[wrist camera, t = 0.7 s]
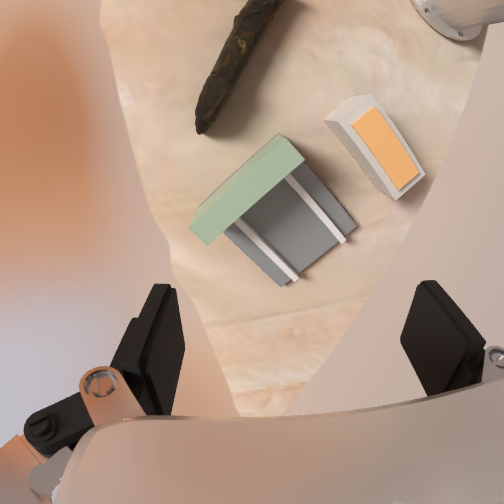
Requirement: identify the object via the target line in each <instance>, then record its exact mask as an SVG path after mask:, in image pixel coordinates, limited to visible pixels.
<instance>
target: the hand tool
mask: <svg viewBox="0 0 504 504" xmlns="http://www.w3.org/2000/svg"><path fill="white" fill-rule="evenodd" d="M282 1H283V0H248V2H247V3H246V5H245V6H244V7H243V9H242V10H241V11H240V13H239V15H237V16H235V18H234V25H233V29H232V31H231V33H230V35H229V37H228V39H227V41H226V42H225V45H224V47H223V49H222V51H221V53H220V56H219V58H218V60H217V62H216V64H215V66H214V68H213V70H212V72H211V74H210V76H209V77H208V78H207V80H206V83H205V84H204V86H203V89H202V92H201V94H200V96H199V100H198V103H197V107H196V110H195V115H196V120H195V125H196V132H197V134H199V135H200V134H202V133H205V132H206V131H207V130H208V128H209V127H210V125H211V123H212V122H214V121H215V120H216V118H217V116H218V115H219V112H220V111H221V109H222V107H223V106H224V105H225V103H226V102H227V100H228V99H229V97H230V95H231V92H232V90H233V88H234V86H235V84H236V82H237V80H238V78H239V76H240V75H241V73H242V71H243V69H244V67H245V65H246V64H247V62H248V60H249V58H250V56H251V55H252V53H253V51H254V49H255V47H256V45H257V43H258V41H259V40H260V38H261V37H262V36H263V33H264V32H265V31H266V29H267V27H268V26H269V23H270V21H271V20H272V18H273V15H274V13H275V12H276V10H277V9H278V7H279V5H280V4H281V2H282Z"/></svg>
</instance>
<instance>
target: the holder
mask: <svg viewBox="0 0 504 504" xmlns="http://www.w3.org/2000/svg"><path fill="white" fill-rule="evenodd" d="M323 121H324V122H325V123H326V124H327V125H328V127H329V128H330V129H331V130H332V131H333V133H334V134H335V135H336V136H337V138H338V139H339V140H340V141H341V143H342V144H343V145H344V146H345V148H346V149H347V150H348V151H349V153H350V154H351V155H352V157H353V158H354V159H355V160H356V162H357V163H358V164H359V166H360V167H361V168H362V170H363V171H364V173H365V174H366V175H367V177H368V178H369V179H370V181H371V182H372V184H373V185H374V186H375V187H376V188H378V189H379V190H381V191H382V192H384V193H385V194H387V195H388V196H390V197H391V198H392V199H394V200H395V201H396V200H397V199H398V198H399V197H401V196H402V195H403V194H404V193H405V192H406V191H407V190H409V189H410V188H411V187H412V186H413V185H414V184H415V183H416V182H418V181H419V180H420V179H421V178H422V177H423V176H424V175H425V173H424V171H423V169H422V167H421V166H420V164H419V162H418V161H417V159H416V157H415V156H414V154H413V152H412V151H411V149H410V148H409V146H408V145H407V143H406V141H405V140H404V138H403V137H402V135H401V134H400V132H399V131H398V129H397V128H396V126H395V125H394V123H393V122H392V121H391V119H390V118H389V116H388V115H387V114H386V112H385V111H384V109H383V108H382V107H381V105H380V104H379V103H378V101H377V100H376V99H375V97H374V96H373V95H372V94H365V95H356V96H351V97H350V98H349V99H348V100H346V101H345V102H344V103H343V104H341V105H340V106H339V107H338V108H336V109H335V110H334V111H333V112H332V113H330V114H329V115H328V116H327V117H325V118H324V119H323Z"/></svg>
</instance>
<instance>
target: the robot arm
mask: <svg viewBox="0 0 504 504" xmlns="http://www.w3.org/2000/svg"><path fill="white" fill-rule="evenodd" d="M411 1H412V3H413V5H414V6H415V8H416V10H417V11H418V12H419V13H420V15H421V16H422V17H423V18H424V19H425V21H426V22H427V23H428V24H429V25H430V26H432V27H433V28H434V29H435V30H436V31H438V32H439V33H441V34H442V35H444V36H446V37H448V38H450V39H453V40H457V41H467V40H471V39H474V38H476V37H477V36H478V35H479V34H480V32H481V30H482V27H483V25H489V24H494V23H500V22H504V0H411ZM400 340H401V345H402V346H403V349H404V350H405V352H406V354H407V356H408V358H409V360H410V362H411V364H412V366H413V368H414V370H415V372H416V374H417V376H418V378H419V380H420V382H421V384H422V386H423V388H424V390H425V392H426V394H427V396H428V397H424V398H420V399H415V400H410V401H405V402H400V403H394V404H389V405H383V406H378V407H371V408H364V409H357V410H350V411H342V412H333V413H323V414H312V415H298V416H279V417H200V416H172V415H171V412H172V407H173V402H174V397H175V393H176V388H177V383H178V379H179V374H180V370H181V365H182V360H183V356H184V352H185V342H184V336H183V331H182V324H181V318H180V313H179V306H178V299H177V293H176V289H175V288H171V286H170V284H154V286H153V287H152V289H151V292H150V294H149V296H148V298H147V300H146V302H145V304H144V306H143V308H142V310H141V313H140V315H139V317H138V318H132V320H131V321H130V323H129V325H128V327H127V330H126V332H125V334H124V336H123V338H122V340H121V342H120V344H119V346H118V349H117V351H116V353H115V355H114V357H113V360H112V362H111V364H110V366H109V367H108V366H100V367H96V368H93V369H91V370H89V371H87V372H86V373H85V374H84V375H83V377H82V378H81V380H80V384H79V389H80V392H78V393H76V394H74V395H72V396H70V397H67V398H65V399H63V400H61V401H59V402H57V403H55V404H53V405H51V406H48V407H46V408H44V409H42V410H40V411H37V412H35V413H34V414H32V415H31V416H30V417H29V418H28V419H27V421H26V423H25V425H24V434H23V435H22V436H20V437H19V436H18V435H16V436H15V437H13V438H12V439H11V440H10V441H9V442H7V443H6V444H5V445H4V446H3V447H2V448H0V504H53V503H52V498H51V496H52V491H53V490H54V488H55V487H56V486H57V485H58V484H59V483H60V485H59V488H58V491H57V495H56V498H55V501H54V504H504V348H502V347H499V346H490V347H488V348H487V350H486V351H485V350H484V349H483V347H484V345H485V344H486V341H485V340H484V338H483V337H482V336H481V334H480V333H479V332H478V330H477V329H476V328H475V327H474V325H473V324H472V323H471V322H470V320H469V319H468V318H467V317H466V316H465V314H464V313H463V312H462V311H461V309H460V308H459V307H458V306H457V305H456V303H455V302H454V301H453V300H452V299H451V297H450V296H449V295H448V294H447V293H446V292H445V291H444V290H443V288H442V287H441V286H440V285H439V284H438V283H437V281H435V280H427V281H422V282H421V283H420V284H419V285H418V286H417V288H416V291H415V295H414V298H413V301H412V304H411V307H410V311H409V313H408V316H407V319H406V323H405V325H404V328H403V331H402V334H401V337H400ZM61 477H62V479H61V481H60V480H59V479H60V478H61Z"/></svg>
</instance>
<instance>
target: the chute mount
mask: <svg viewBox="0 0 504 504" xmlns="http://www.w3.org/2000/svg"><path fill="white" fill-rule="evenodd" d="M304 160H305V159H304V158H303V157H302V156H301V154H300V153H299V152H298V151H297V150H296V149H295V148H294V147H293V145H292V144H291V143H290V142H289V141H288V140H287V139H286V138H285V137H283V136H282V135H280V134H277V135H276V136H275V137H274V138H273V139H271V140H270V141H269V142H268V143H267V144H266V145H265V146H263V147H262V148H261V149H260V150H259V151H258V152H257V153H256V154H254V155H253V156H252V157H251V158H250V159H249V160H248V161H247V162H246V163H245V164H243V165H242V166H241V167H240V168H239V169H238V170H237V171H236V172H235V173H234V174H233V175H231V176H230V177H229V178H228V179H227V180H226V181H225V182H224V183H223V184H222V185H221V186H220V187H219V188H218V189H217V190H216V191H214V192H213V193H212V194H211V195H210V196H209V197H208V198H207V199H206V200H205V201H204V202H203V203H202V204H201V205H200V206H199V208H198V210H197V212H196V214H195V216H194V218H193V220H192V222H191V224H190V226H189V229H190V230H191V231H192V232H193V233H194V234H195V235H197V236H198V237H199V238H200V239H201V240H202V241H203V242H204V243H205V244H206V245H207V246H208V245H209V244H210V243H211V242H213V241H214V240H215V239H216V238H217V237H218V236H219V235H220V234H221V233H222V232H223V233H224V234H225V235H226V236H227V237H228V238H229V239H231V240H232V241H233V242H234V243H235V244H236V245H237V246H238V247H239V248H240V249H241V250H242V251H243V252H244V253H245V254H246V255H247V256H248V257H249V258H250V259H251V260H253V261H254V262H255V263H256V264H257V265H258V266H259V267H260V268H261V269H262V270H263V271H264V272H265V273H266V274H267V275H268V276H269V277H270V278H271V279H273V280H274V281H275V282H276V283H277V284H278V285H279V286H280V287H282V286H283V285H284V284H286V283H287V282H288V281H289V280H291V279H292V280H293V281H294V282H295V281H296V280H297V279H298V278H299V277H298V273H300V272H301V271H302V270H303V269H305V268H306V267H307V266H309V265H310V264H311V263H312V262H314V261H315V260H316V259H317V258H319V257H320V256H321V255H322V254H324V253H325V252H326V251H327V250H329V249H330V248H331V247H332V246H333V245H335V244H336V243H337V242H338V241H339V242H340V243H341V244H342V243H344V242H345V241H346V239H345V236H346V235H347V234H348V233H349V232H351V231H352V230H353V229H354V228H355V227H357V226H356V224H355V223H354V222H353V220H352V219H351V218H350V217H349V215H348V214H347V213H346V212H345V210H344V209H343V208H342V206H341V205H340V204H339V203H338V201H337V200H336V199H335V198H334V197H333V195H332V194H331V193H330V192H329V190H328V189H327V188H326V187H325V186H324V184H323V183H322V182H321V181H320V180H319V178H318V177H317V176H316V175H315V174H314V173H313V171H312V170H311V169H310V168H309V167H308V166H307V164H306V163H305V162H304Z"/></svg>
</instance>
